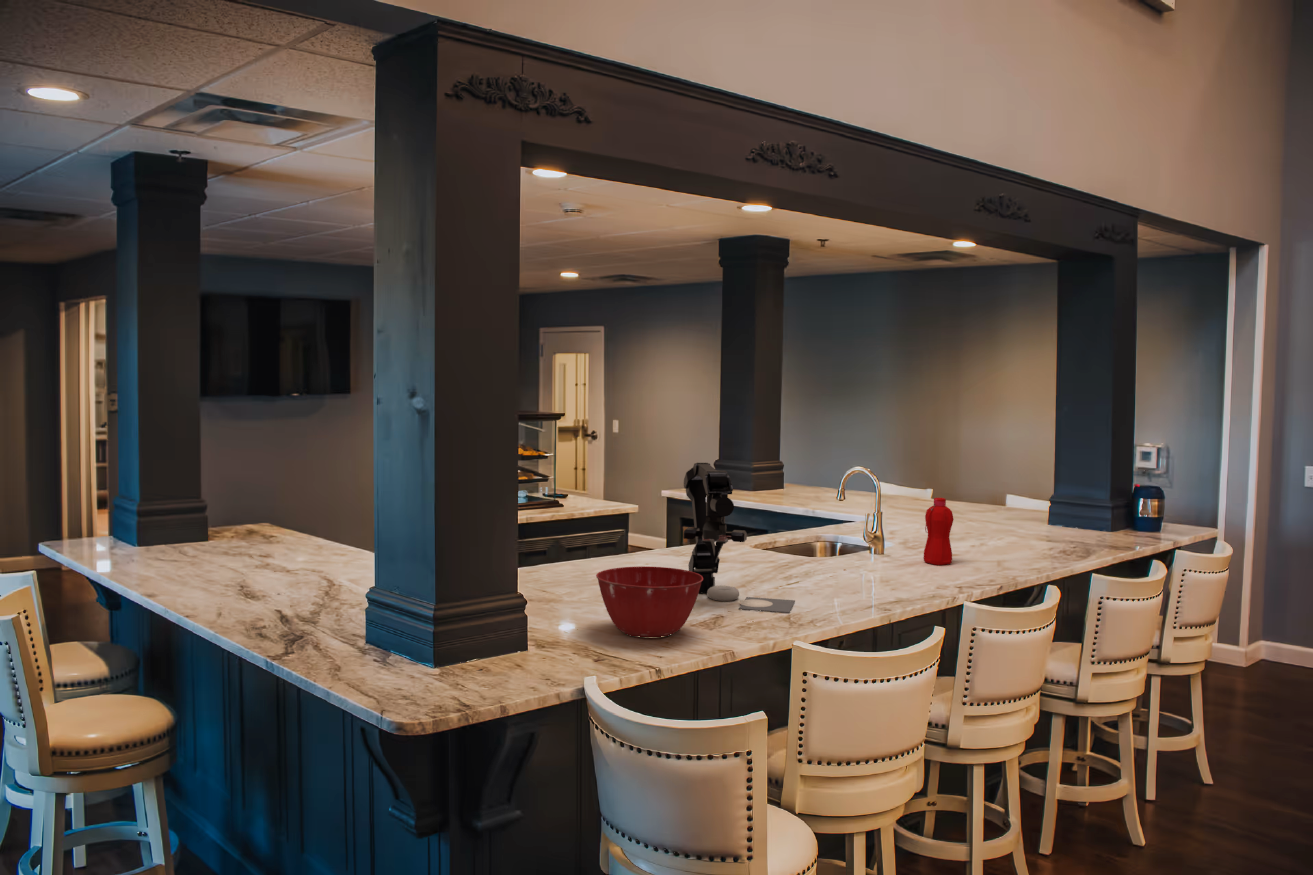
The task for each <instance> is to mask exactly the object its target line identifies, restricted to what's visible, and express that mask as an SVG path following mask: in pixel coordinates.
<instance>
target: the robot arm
mask: <svg viewBox="0 0 1313 875" xmlns="http://www.w3.org/2000/svg"><path fill="white" fill-rule="evenodd" d="M683 488H684V489H685V493H686V496H687V498H688V499H689V500H690V502H691V505H692V516H693V524H694V525H693V526H694V527H687V528H685V530H683V535H682V536H683V539H685V540H695V546H694V547H693V549H692V551H691V555H690V559H689V561H688V571H691V572H695V573H697V574H700V575H701V576H702V577H703V581H702V582H701V586H700V589H699V593H698V594H707V591H708V589H709V588H711V587H713V586H716V576H714V574H718V573H719V565H720V560H721V559H720V558H719V555H720V552H721V550H722V548H723V546H724V545H725V544H727V543H728V542H729V540H730V539H731V540H732V542H735V543H737V542H738V543H745V542H746V541H747V537H748V536H747V535H748V534H747V531H746V530H741V529H733V530H732V531H731V532H730V531H729V532H727V523H726V517H728V516H730V515H731V514H732V513H733V511H734V509H735V506H734V501H733V500H732V499H731V498H729V497H728V496H729V495H733V490H734V488H733V483H732V480H731V477H730V475H729V474H728V472H727V470H716V468H714V467H713V466H712V465H711V463H709V462H696V463H693V467H692V468H690V469H688V470H687V471H686V472H685V475H684V479H683Z"/></svg>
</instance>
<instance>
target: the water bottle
mask: <svg viewBox="0 0 1313 875" xmlns="http://www.w3.org/2000/svg"><path fill="white" fill-rule="evenodd" d="M946 503H947V498H945V497H934V498H933V505H932V506H930V507H928V508H927V509H926V511H925V516H924V519H925V527H924V528H925V533H926V534H927V538H926V542H925V545H924V550H923V557H922V558H923V561H924V562H925V563H926V564H930V565H932V566H933V565H934V566H944V565H945V566H946V565H947V564H948V565H950V564H952V561H953V551H952V546H951V545H952V544H951V540H950V534H951V530H952V527H953V524H954V516H953V515H954V514H953V511H952V510H951V508H949V507H948V506H947V504H946Z"/></svg>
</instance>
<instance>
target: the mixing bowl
mask: <svg viewBox="0 0 1313 875" xmlns="http://www.w3.org/2000/svg"><path fill="white" fill-rule="evenodd" d="M595 577H596V579H597V580H598V586H599V591H600V594H601V599H602V601H603V604H604V606H605V608H606V612H607V613H608V616H609V618H610V619H611V621H612V623H613V625H614V626H615V627H616V628H617V629H618V630H619V631H620V632H622V633H623V632H624V633H625V634H624V633H623V634H624V635H626V634H628V635H627V636H629V635H631V636H630V637H632V636H640V637H661V636H668V635H670V634H672V635H674V633H676V632H679V630H681V629H682V628H683V626H684V625H685V624H686V622H687V621H688V619H689V617H690V616H691V613H692V612H693V610H694V606H695V604H696V601H697V599H698V596H699V594H700V593H699V589H700V586H701V582H702V581H703V577H702V576H701V575H700V574H697V573H695V572H691V571H689V570H687V569H682V568H675V567H664V566H663V567H662V566H622V567H614V568H609V569H603V570H601V571H599V572H598V573H596V575H595ZM668 637H669V636H668Z"/></svg>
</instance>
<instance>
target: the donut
mask: <svg viewBox="0 0 1313 875" xmlns="http://www.w3.org/2000/svg"><path fill="white" fill-rule="evenodd" d="M706 594H707V597H708V598H710V599H711V600H713V601H719V602H730V601H735V600H736V599H738V598H739V596H740V591H739V589H738V588H736V587H735V586H730V585H715V586H713V587H711V588H709V589H708V591H707V593H706Z"/></svg>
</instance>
